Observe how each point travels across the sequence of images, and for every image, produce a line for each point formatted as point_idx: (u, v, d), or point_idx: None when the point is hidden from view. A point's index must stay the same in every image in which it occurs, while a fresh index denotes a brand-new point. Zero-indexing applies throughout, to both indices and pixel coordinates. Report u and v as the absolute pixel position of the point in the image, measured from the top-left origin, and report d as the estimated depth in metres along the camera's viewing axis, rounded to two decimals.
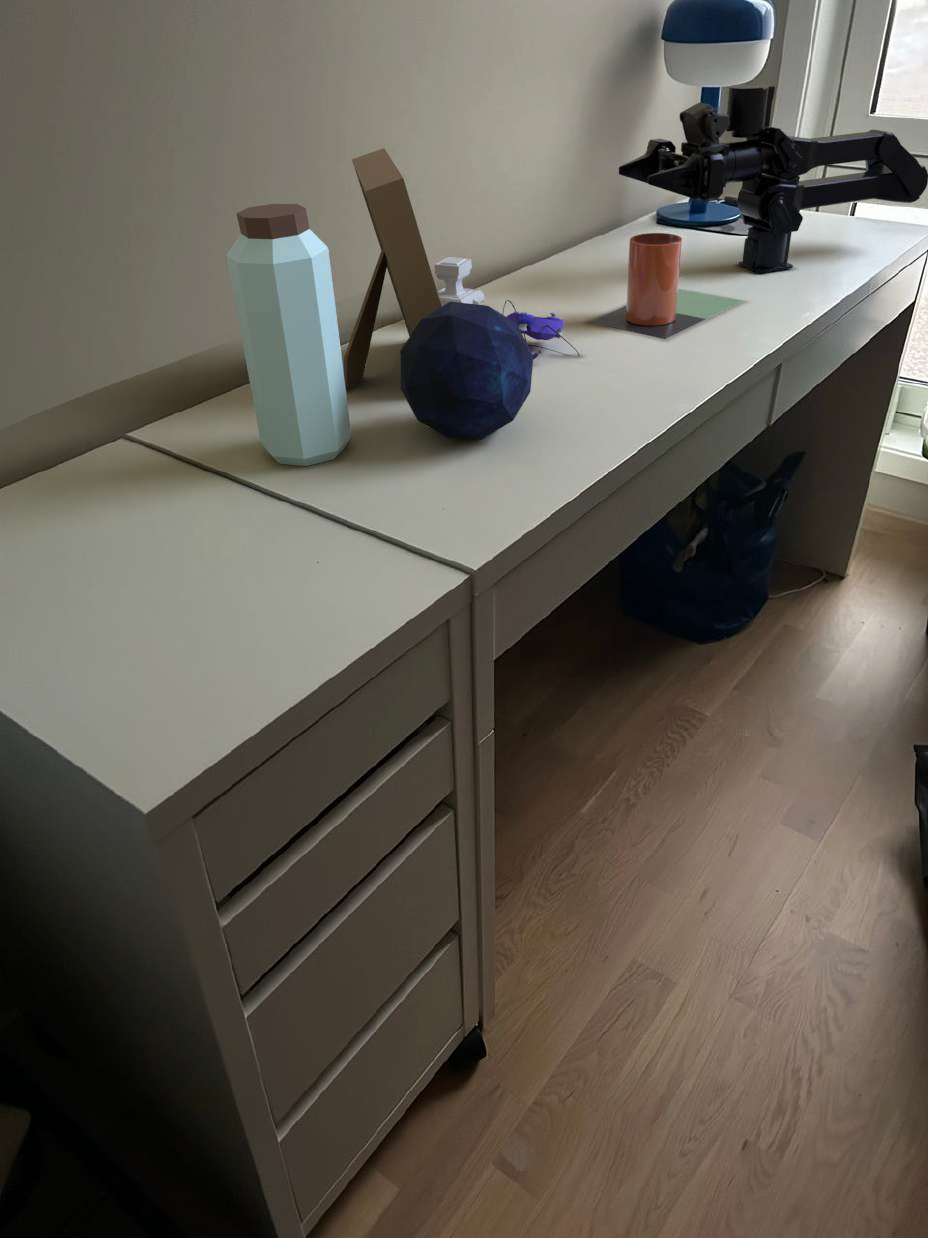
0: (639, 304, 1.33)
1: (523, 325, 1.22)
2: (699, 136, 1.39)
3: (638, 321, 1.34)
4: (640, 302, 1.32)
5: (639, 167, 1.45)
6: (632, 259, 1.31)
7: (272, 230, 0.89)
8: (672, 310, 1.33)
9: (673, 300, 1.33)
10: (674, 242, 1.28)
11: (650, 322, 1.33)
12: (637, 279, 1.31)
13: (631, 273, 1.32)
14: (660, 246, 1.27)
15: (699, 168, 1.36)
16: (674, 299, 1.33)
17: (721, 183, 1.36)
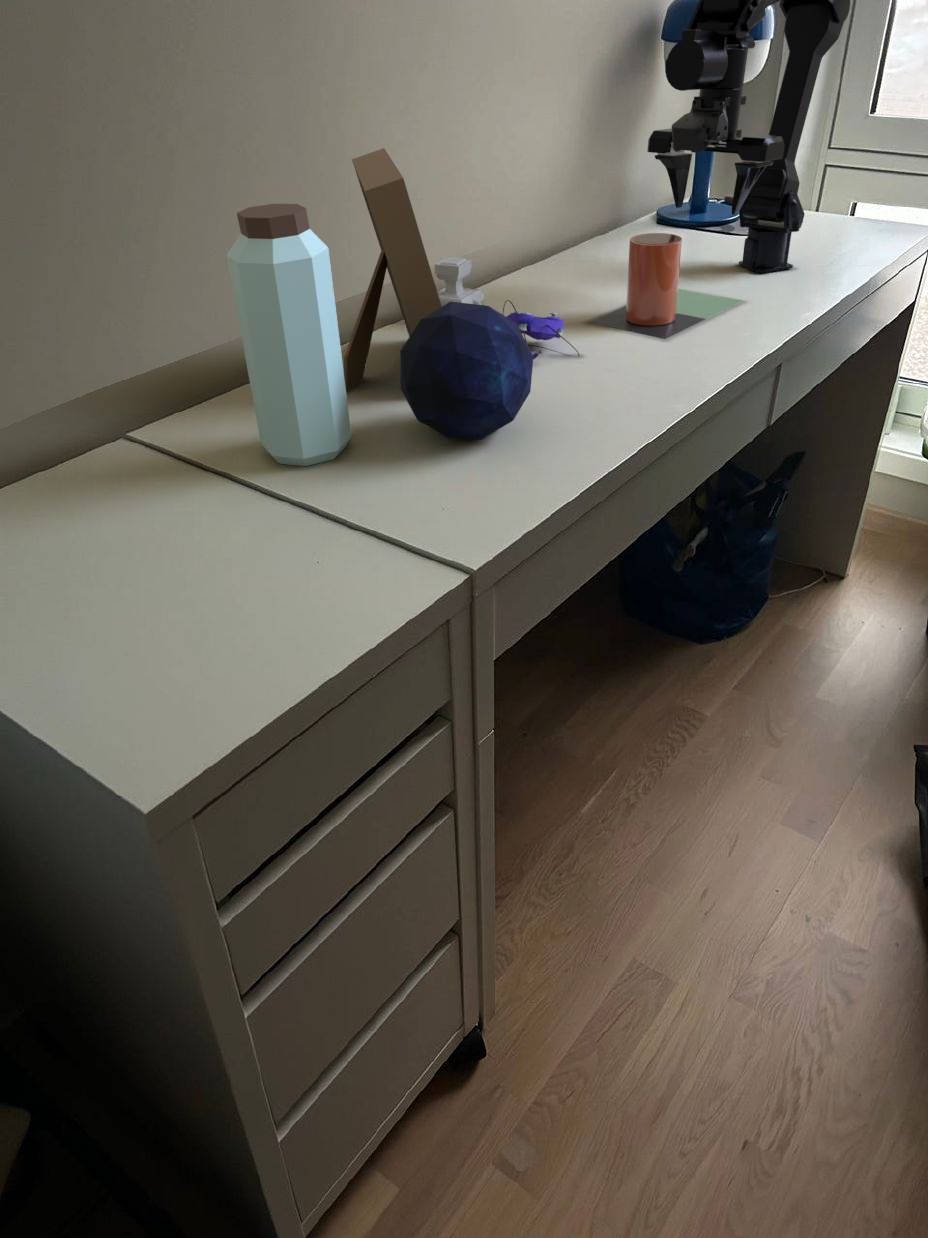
0: (639, 304, 1.33)
1: (523, 325, 1.22)
2: None
3: (638, 321, 1.34)
4: (640, 302, 1.32)
5: (680, 181, 1.38)
6: (632, 259, 1.31)
7: (273, 230, 0.89)
8: (672, 310, 1.33)
9: (673, 300, 1.33)
10: (674, 242, 1.28)
11: (650, 322, 1.33)
12: (637, 279, 1.31)
13: (631, 273, 1.32)
14: (660, 246, 1.27)
15: None
16: (674, 299, 1.33)
17: (779, 143, 1.27)
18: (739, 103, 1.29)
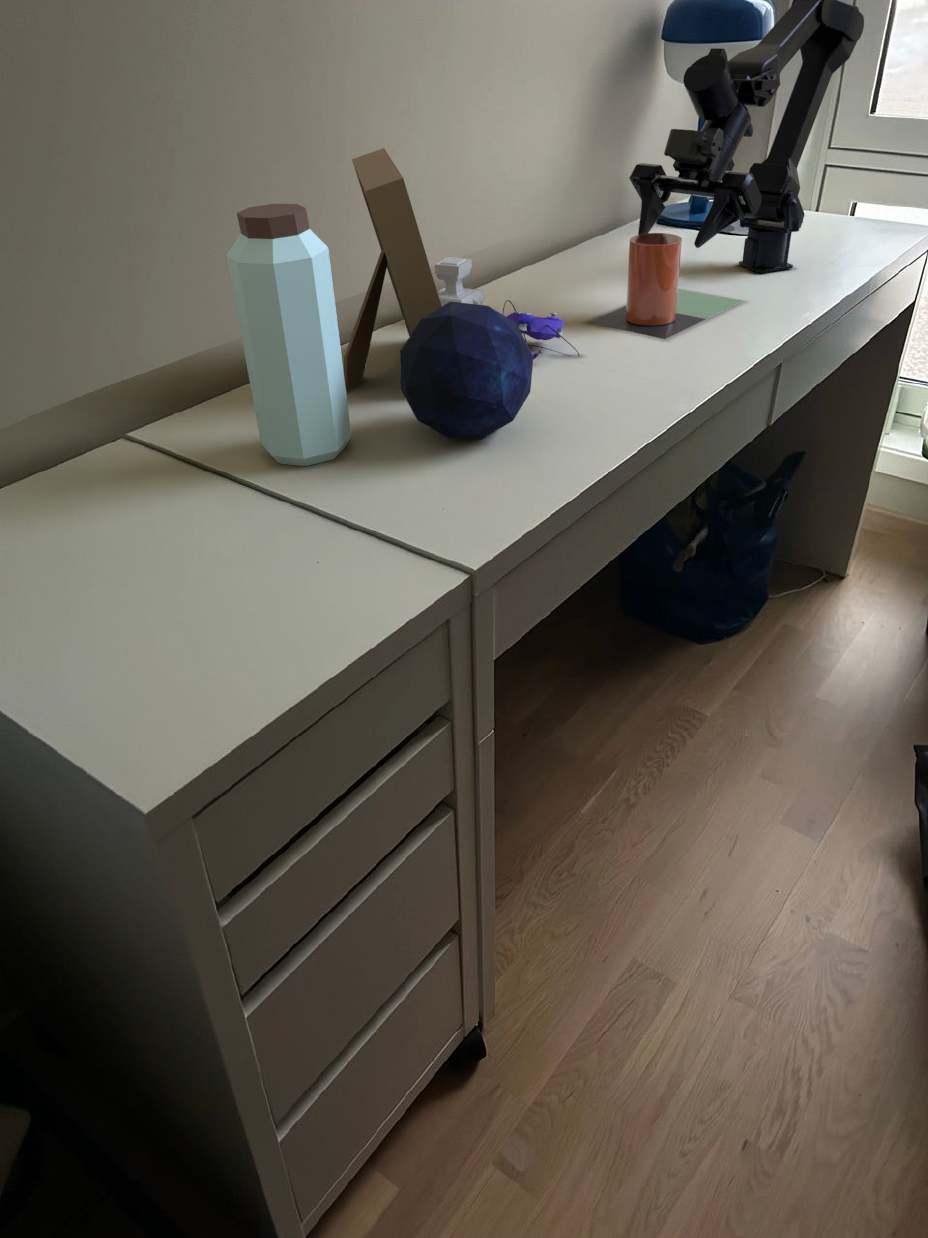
0: (639, 304, 1.33)
1: (523, 325, 1.22)
2: (699, 160, 1.28)
3: (638, 321, 1.34)
4: (640, 302, 1.32)
5: (650, 215, 1.35)
6: (632, 259, 1.31)
7: (273, 230, 0.89)
8: (672, 310, 1.33)
9: (673, 300, 1.33)
10: (674, 242, 1.28)
11: (650, 322, 1.33)
12: (637, 279, 1.31)
13: (631, 273, 1.32)
14: (660, 246, 1.27)
15: (734, 200, 1.27)
16: (674, 299, 1.33)
17: (759, 192, 1.28)
18: (729, 158, 1.32)
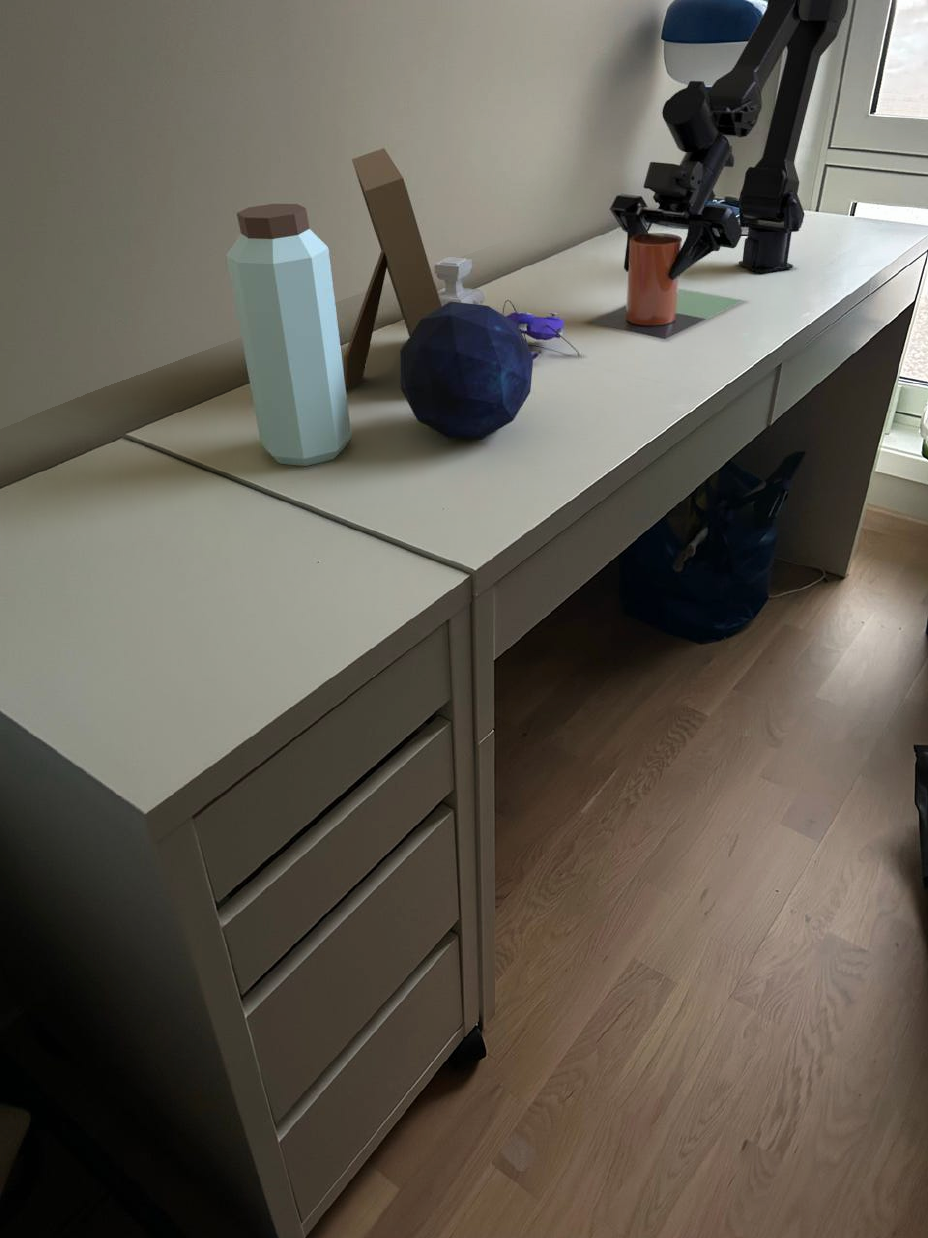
0: (639, 304, 1.33)
1: (523, 325, 1.22)
2: (679, 193, 1.27)
3: (638, 321, 1.34)
4: (640, 303, 1.32)
5: None
6: (632, 259, 1.31)
7: (273, 230, 0.89)
8: (672, 310, 1.33)
9: (673, 300, 1.33)
10: (674, 242, 1.28)
11: (650, 322, 1.33)
12: (637, 279, 1.31)
13: (631, 273, 1.32)
14: (660, 246, 1.27)
15: (708, 233, 1.27)
16: (674, 299, 1.33)
17: (739, 225, 1.27)
18: (710, 190, 1.31)
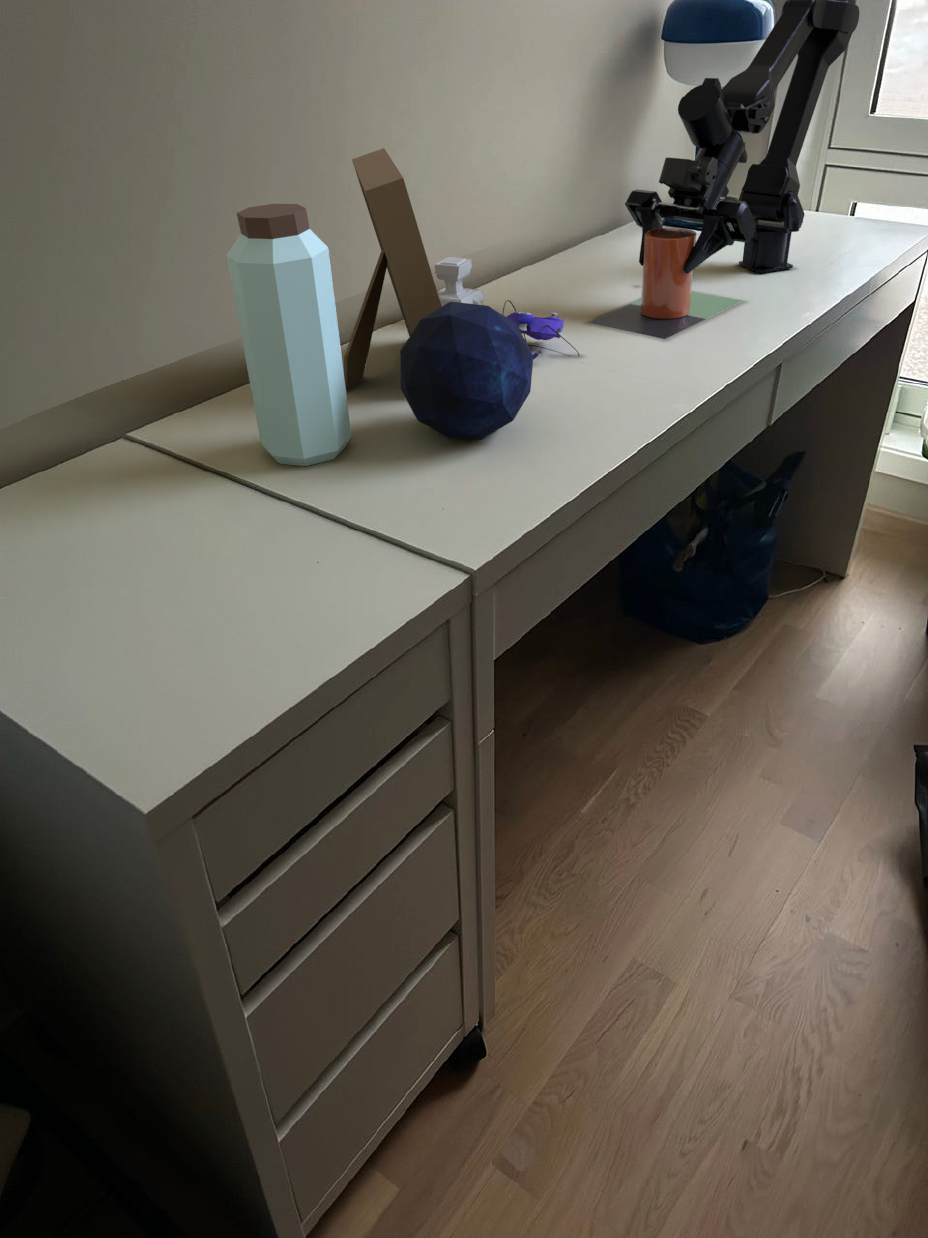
0: (654, 298, 1.35)
1: (523, 325, 1.22)
2: (694, 188, 1.30)
3: (653, 314, 1.36)
4: (654, 296, 1.35)
5: None
6: (647, 253, 1.33)
7: (273, 230, 0.89)
8: (686, 303, 1.36)
9: (687, 293, 1.35)
10: (689, 236, 1.30)
11: (665, 315, 1.36)
12: (652, 273, 1.33)
13: (646, 267, 1.34)
14: (675, 240, 1.30)
15: (723, 227, 1.29)
16: (689, 292, 1.35)
17: (752, 220, 1.29)
18: (724, 185, 1.33)
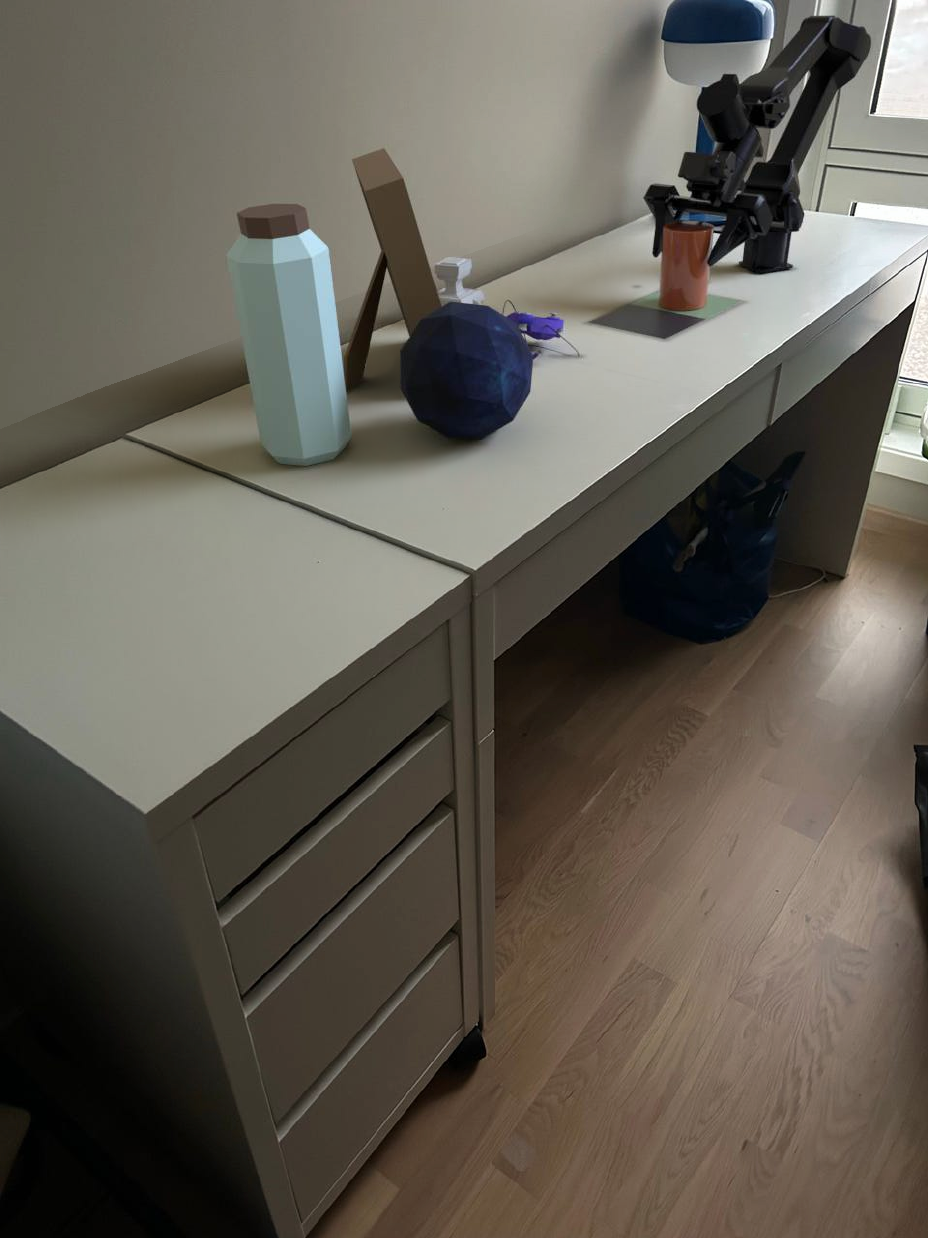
0: (672, 290, 1.38)
1: (523, 325, 1.22)
2: (712, 182, 1.32)
3: (671, 306, 1.39)
4: (673, 288, 1.37)
5: None
6: (666, 246, 1.36)
7: (273, 230, 0.89)
8: (704, 295, 1.38)
9: (705, 285, 1.38)
10: (706, 229, 1.33)
11: (682, 307, 1.38)
12: (670, 265, 1.36)
13: (664, 260, 1.37)
14: (693, 233, 1.32)
15: (746, 220, 1.32)
16: (706, 284, 1.38)
17: (770, 213, 1.32)
18: (741, 179, 1.36)
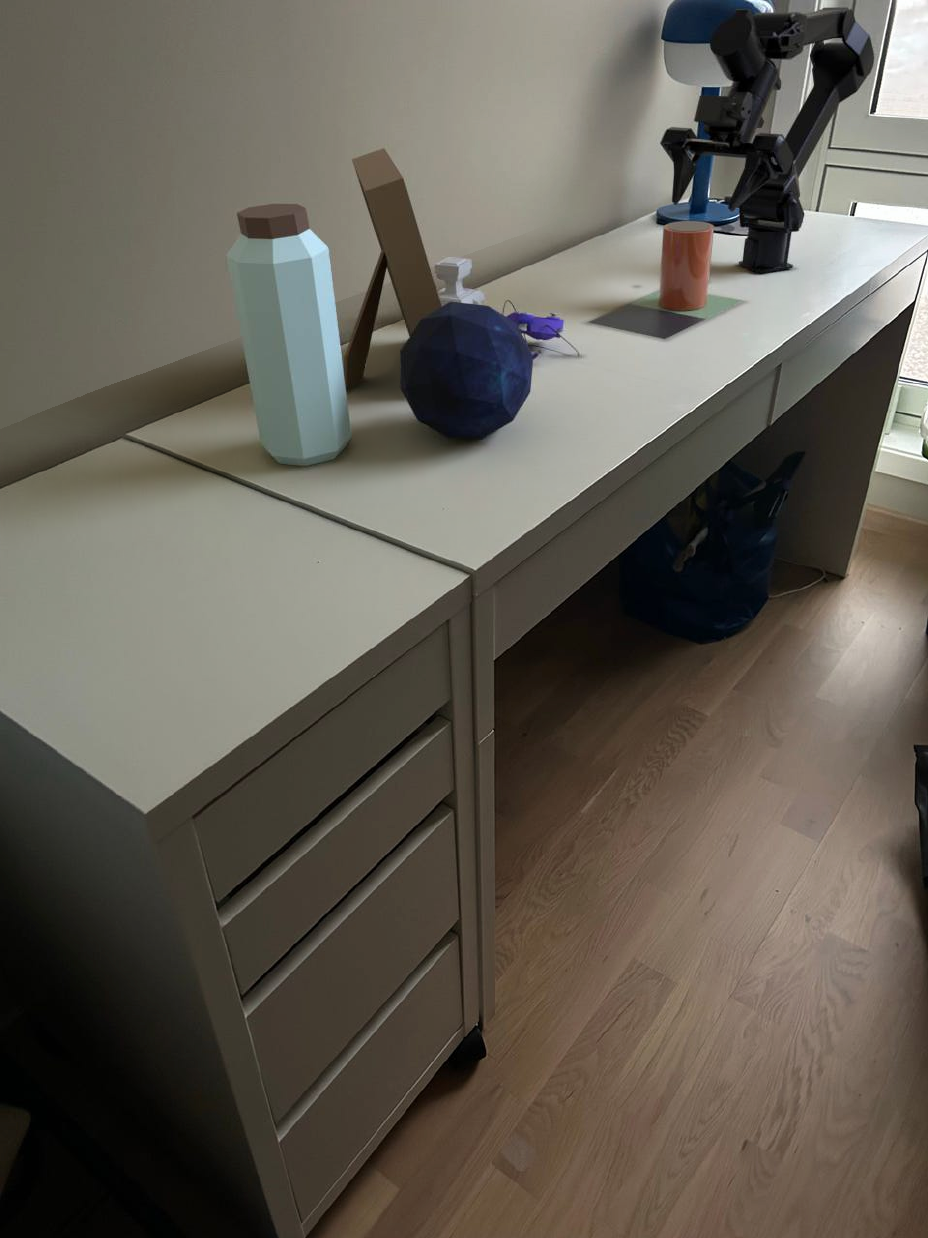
0: (672, 290, 1.38)
1: (523, 325, 1.22)
2: (730, 124, 1.30)
3: (671, 306, 1.39)
4: (673, 288, 1.37)
5: (683, 180, 1.38)
6: (666, 246, 1.36)
7: (273, 230, 0.89)
8: (704, 295, 1.38)
9: (705, 285, 1.38)
10: (706, 229, 1.33)
11: (682, 307, 1.38)
12: (670, 265, 1.36)
13: (664, 260, 1.37)
14: (693, 233, 1.32)
15: (766, 162, 1.30)
16: (706, 284, 1.38)
17: (790, 152, 1.30)
18: (759, 116, 1.33)
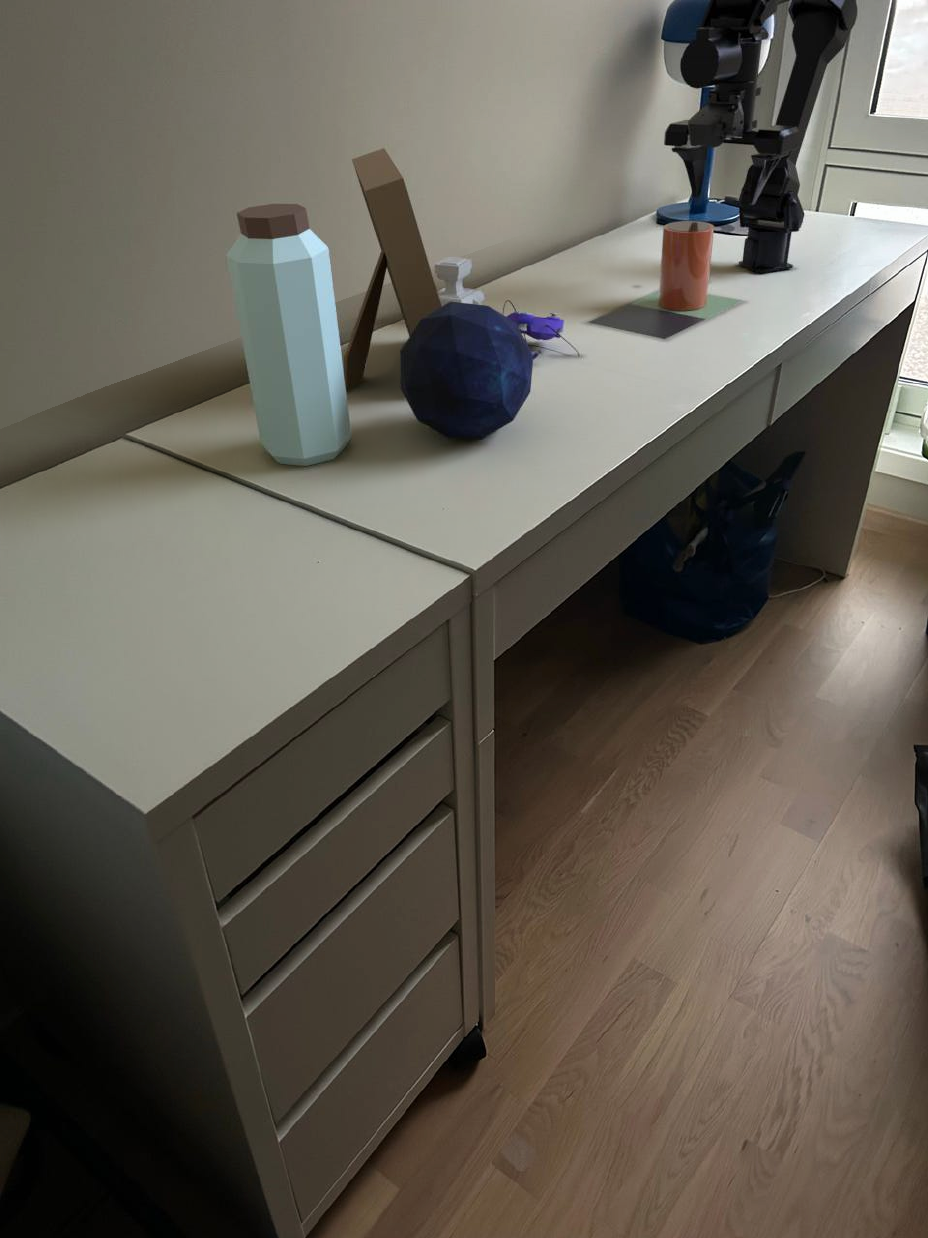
0: (672, 290, 1.38)
1: (523, 325, 1.22)
2: None
3: (671, 306, 1.39)
4: (673, 288, 1.37)
5: (698, 172, 1.40)
6: (666, 246, 1.36)
7: (273, 230, 0.89)
8: (704, 295, 1.38)
9: (705, 285, 1.38)
10: (706, 229, 1.33)
11: (682, 307, 1.38)
12: (670, 265, 1.36)
13: (664, 260, 1.37)
14: (693, 233, 1.32)
15: None
16: (706, 284, 1.38)
17: (794, 134, 1.29)
18: (754, 95, 1.30)
